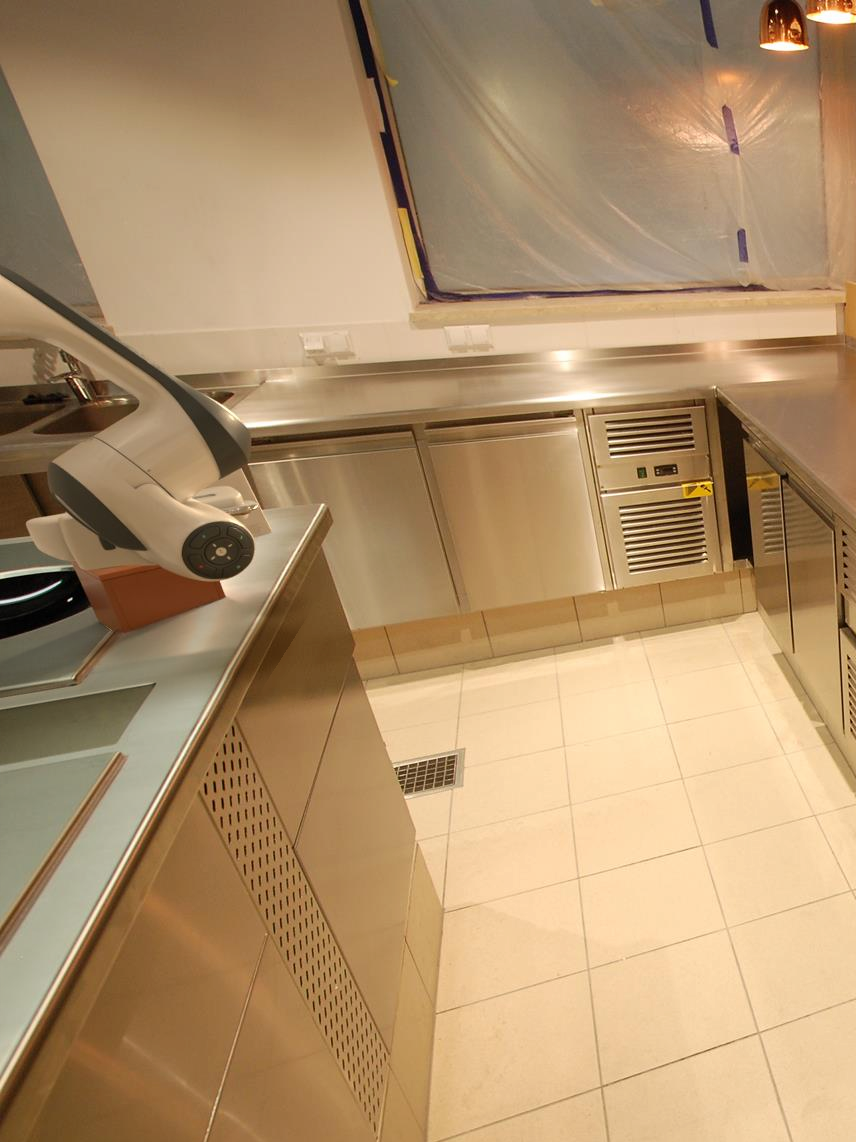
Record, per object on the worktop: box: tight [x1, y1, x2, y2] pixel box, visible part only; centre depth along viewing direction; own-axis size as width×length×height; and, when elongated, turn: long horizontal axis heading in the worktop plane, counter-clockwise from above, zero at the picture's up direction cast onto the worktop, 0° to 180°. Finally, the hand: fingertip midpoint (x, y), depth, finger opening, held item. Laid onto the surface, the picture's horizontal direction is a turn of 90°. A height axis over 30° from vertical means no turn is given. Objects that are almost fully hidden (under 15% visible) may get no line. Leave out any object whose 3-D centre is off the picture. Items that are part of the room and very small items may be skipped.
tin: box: [72, 565, 227, 634], centre depth 114 cm, size 10×11×9 cm
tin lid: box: [69, 561, 160, 581], centre depth 113 cm, size 11×11×1 cm
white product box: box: [204, 468, 273, 538], centre depth 137 cm, size 9×9×15 cm
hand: (123, 508), depth 109 cm, fingers open, 8 cm apart
